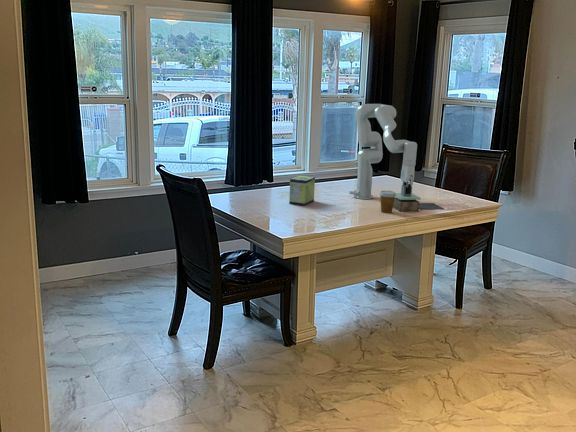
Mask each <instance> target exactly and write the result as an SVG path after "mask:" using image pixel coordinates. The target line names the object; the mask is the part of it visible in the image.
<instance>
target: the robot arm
mask: <svg viewBox="0 0 576 432" xmlns="http://www.w3.org/2000/svg"><path fill="white" fill-rule="evenodd" d="M396 117H397V109H396V108H395V107H394V106H393V105H389V104H383V103H364V104H361V105H359V106H358V107H357V108H356V111H355V121H356V126H357V139H358V144H359V146H360V147H362V148H363V149H360V150H359V151H358V152H357V154H356V159H357V160H356V161H357V180H356V189H354V190H353V191H351V190H350V191H349V192H348V194H349V195H353V197H354V198H355V199H359V200H371V199H374V195H373V194H372V185H373V184H372V183H373V167H372V165H371V164H378V163H380V162H381V161H382V159H383V155H384V153H383V152H384V151H383V143H384V145H385V147H386V148H387V150H388V151H389V152H390V153H392V154H398V153H403V157H402V166H401V170H400V177H399V178H400V180H401V181H402V185H407V186H406V191H405V194H411V187H412V188H413V185H414V181H415V171H416V170H415V167H416V163H417V162H416V161H417V152H418V151H417V150H418V144H417V142H415V141H410V140H407V139H396V140H395V139H394V137H393V135H392V132H393V131H394V130H395V129H396V127H397V123H396V121H395V120H394V119H395V118H396ZM371 118H372V119H373V118H375V119H376V120H377V122H378V124H379V125H380V127H381V129H382V130H383V135H382V136H381V134H380V133H379V132H377V131H372V128H371V127H372V126H371V122H370V120H369V119H371ZM367 147H369V148H367Z"/></svg>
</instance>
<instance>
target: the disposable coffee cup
mask: <svg viewBox="0 0 576 432" xmlns="http://www.w3.org/2000/svg"><path fill="white" fill-rule="evenodd" d="M395 193H396V192H395V191H392V190H381V191H380V193H379V197H380V210H381V211H380V212H381V213H383V214H391V213H393V209H394V208H393V204H394V199H395V198H396V197H395V196H396V194H395Z"/></svg>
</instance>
